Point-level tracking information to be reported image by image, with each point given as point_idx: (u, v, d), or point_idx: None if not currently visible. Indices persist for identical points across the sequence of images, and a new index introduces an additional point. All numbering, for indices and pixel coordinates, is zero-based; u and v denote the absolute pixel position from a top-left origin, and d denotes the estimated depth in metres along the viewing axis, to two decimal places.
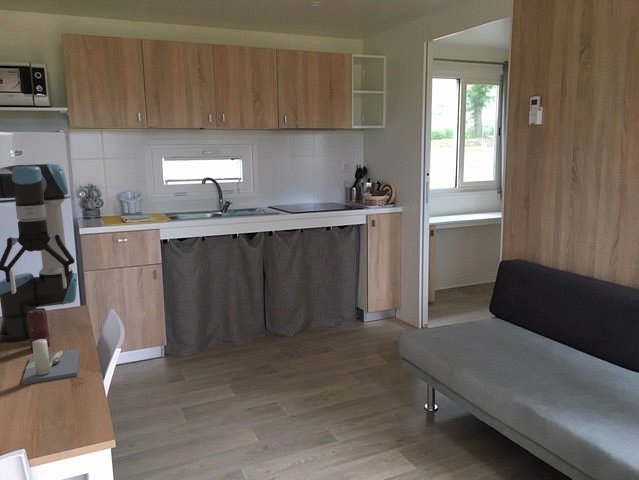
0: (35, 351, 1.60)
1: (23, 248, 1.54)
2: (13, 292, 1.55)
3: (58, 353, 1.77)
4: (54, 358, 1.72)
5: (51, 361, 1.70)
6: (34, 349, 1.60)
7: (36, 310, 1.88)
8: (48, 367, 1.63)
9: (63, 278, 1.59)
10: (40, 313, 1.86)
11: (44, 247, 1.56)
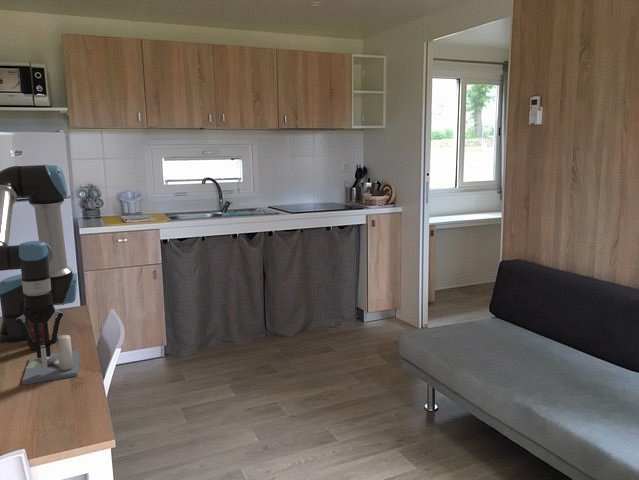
0: (64, 346, 1.64)
1: (35, 322, 1.59)
2: (44, 367, 1.62)
3: None
4: (51, 358, 1.72)
5: (55, 360, 1.71)
6: (63, 344, 1.64)
7: None
8: None
9: (45, 358, 1.62)
10: None
11: (44, 320, 1.60)
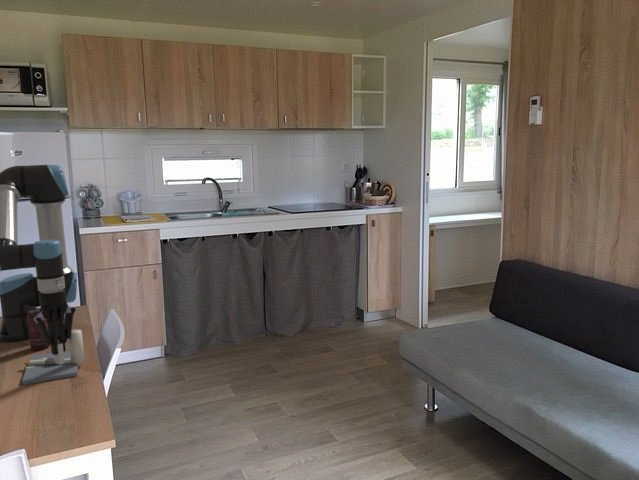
0: (80, 339, 1.70)
1: (53, 319, 1.62)
2: (61, 363, 1.65)
3: (34, 360, 1.71)
4: (48, 359, 1.71)
5: None
6: (79, 338, 1.70)
7: (36, 310, 1.88)
8: None
9: (62, 354, 1.66)
10: None
11: (61, 316, 1.64)
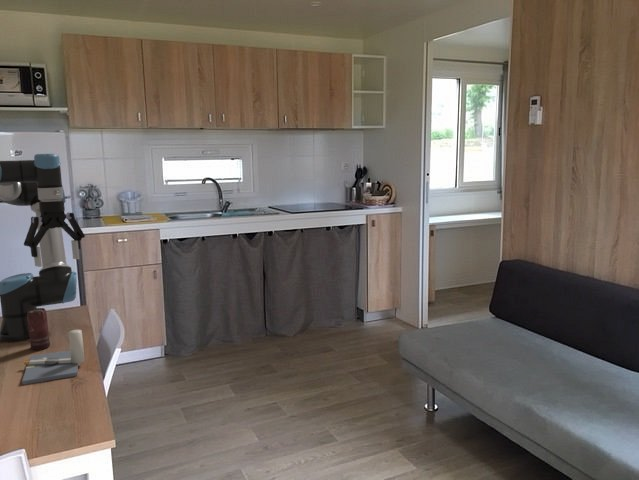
0: (80, 339, 1.70)
1: (48, 225, 1.75)
2: (40, 265, 1.74)
3: (34, 360, 1.71)
4: (48, 359, 1.71)
5: (56, 359, 1.71)
6: (79, 338, 1.70)
7: (36, 310, 1.88)
8: None
9: (77, 250, 1.85)
10: (40, 313, 1.86)
11: (63, 223, 1.79)
